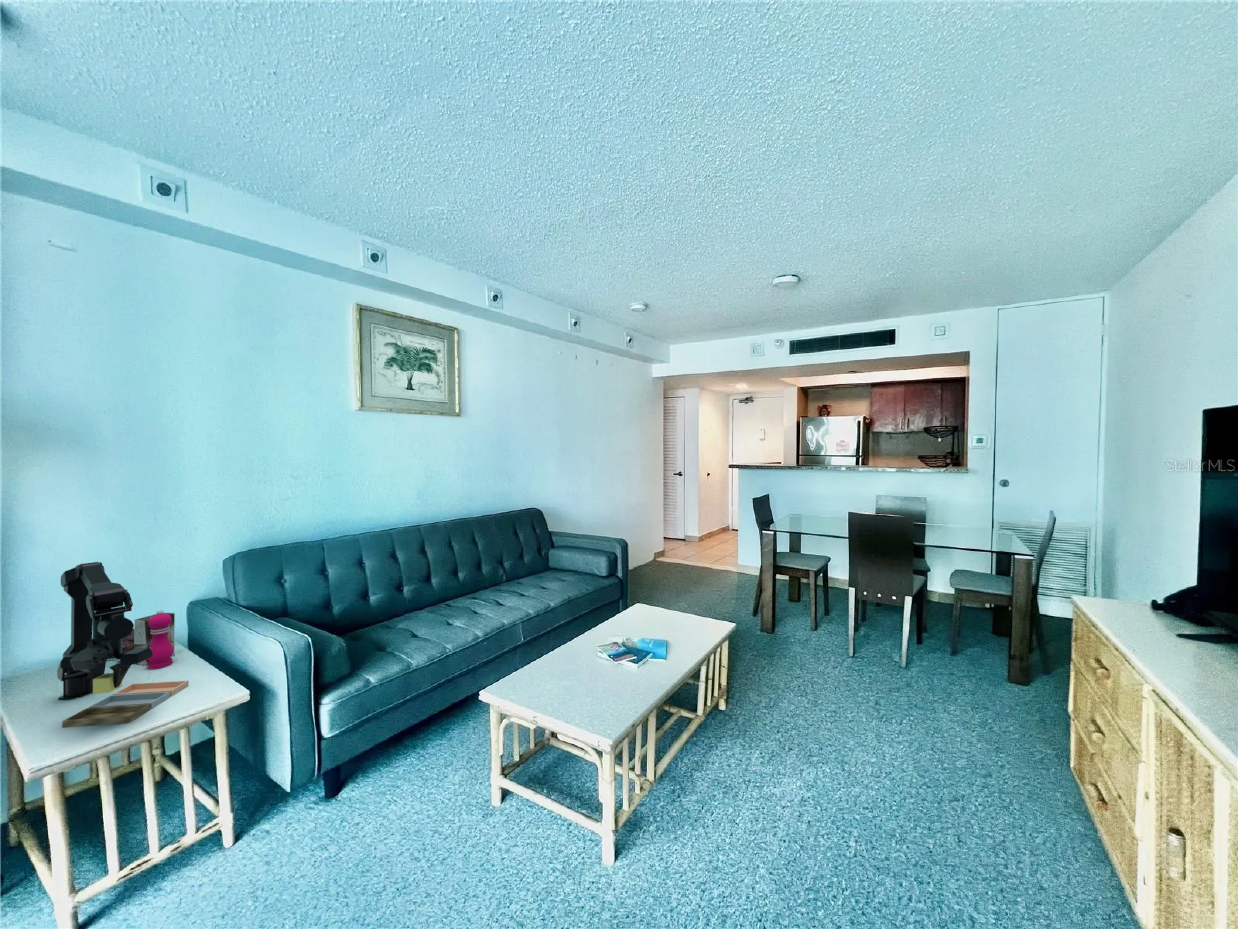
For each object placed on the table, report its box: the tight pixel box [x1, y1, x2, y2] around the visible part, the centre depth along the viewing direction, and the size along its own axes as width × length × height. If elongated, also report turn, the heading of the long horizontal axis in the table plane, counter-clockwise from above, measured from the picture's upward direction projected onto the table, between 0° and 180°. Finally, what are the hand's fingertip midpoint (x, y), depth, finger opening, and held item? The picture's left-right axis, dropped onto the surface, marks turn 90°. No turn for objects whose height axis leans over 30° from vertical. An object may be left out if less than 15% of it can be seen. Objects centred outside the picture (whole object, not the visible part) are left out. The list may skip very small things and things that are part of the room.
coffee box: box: [133, 612, 176, 666], centre depth 175 cm, size 9×6×16 cm
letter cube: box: [92, 672, 123, 694], centre depth 134 cm, size 4×4×4 cm
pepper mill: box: [147, 609, 175, 670], centre depth 170 cm, size 7×7×20 cm
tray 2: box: [88, 692, 171, 710], centre depth 142 cm, size 16×7×2 cm, turn 99°
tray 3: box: [111, 680, 190, 698], centre depth 149 cm, size 16×7×2 cm, turn 99°
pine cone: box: [122, 628, 134, 653], centre depth 178 cm, size 18×10×10 cm, turn 54°
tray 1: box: [61, 704, 151, 728], centre depth 134 cm, size 16×7×2 cm, turn 99°
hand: (107, 687), depth 134 cm, fingers closed on letter cube, 4 cm apart
